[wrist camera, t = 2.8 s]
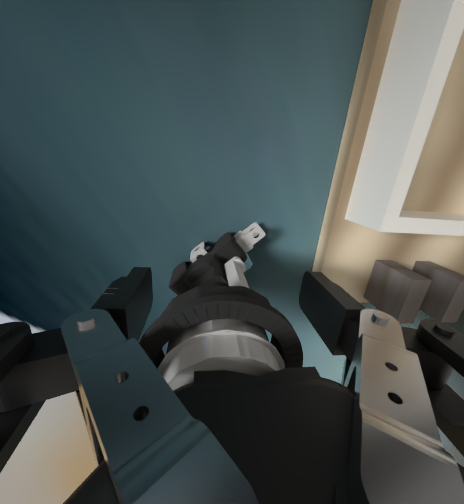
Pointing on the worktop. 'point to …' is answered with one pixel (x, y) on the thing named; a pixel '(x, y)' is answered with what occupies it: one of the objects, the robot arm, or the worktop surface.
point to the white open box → (407, 119)
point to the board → (417, 199)
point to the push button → (220, 318)
